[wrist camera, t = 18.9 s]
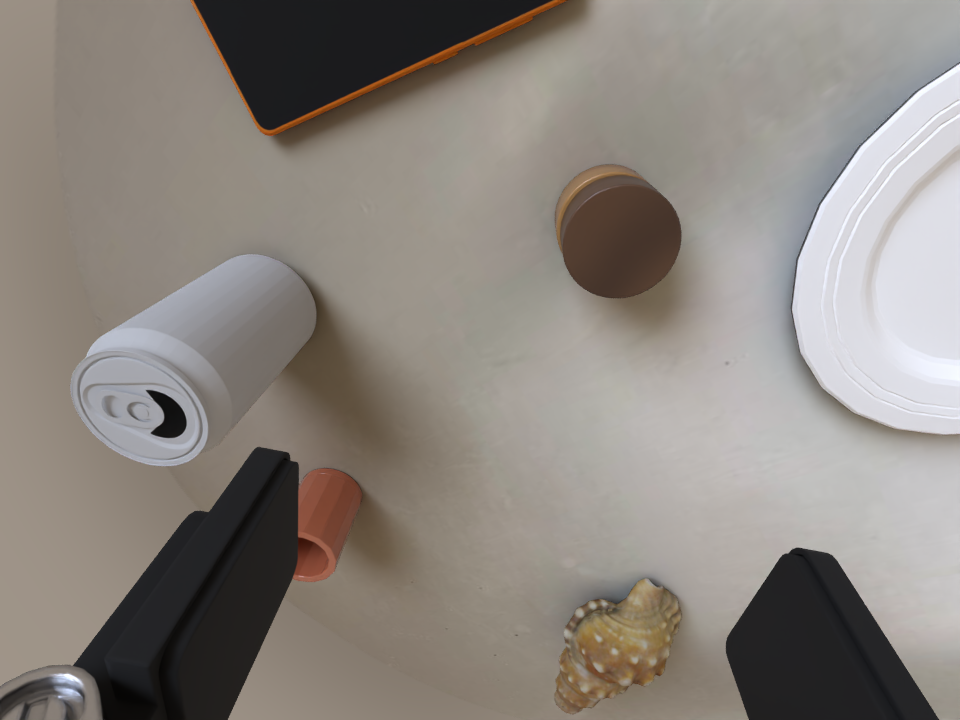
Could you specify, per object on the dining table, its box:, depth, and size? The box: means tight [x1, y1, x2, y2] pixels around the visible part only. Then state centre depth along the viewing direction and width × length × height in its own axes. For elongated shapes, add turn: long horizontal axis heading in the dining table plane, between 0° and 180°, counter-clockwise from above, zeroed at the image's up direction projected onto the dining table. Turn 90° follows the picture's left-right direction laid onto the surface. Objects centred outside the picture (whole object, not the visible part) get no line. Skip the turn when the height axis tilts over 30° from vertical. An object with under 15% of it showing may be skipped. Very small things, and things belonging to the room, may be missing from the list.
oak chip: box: [555, 165, 648, 254], centre depth 27 cm, size 5×5×2 cm
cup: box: [292, 468, 362, 582], centre depth 36 cm, size 5×5×6 cm
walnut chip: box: [560, 175, 681, 298], centre depth 24 cm, size 5×5×2 cm
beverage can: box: [70, 254, 316, 466], centre depth 26 cm, size 6×6×12 cm
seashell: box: [554, 579, 682, 714], centre depth 40 cm, size 9×8×10 cm
